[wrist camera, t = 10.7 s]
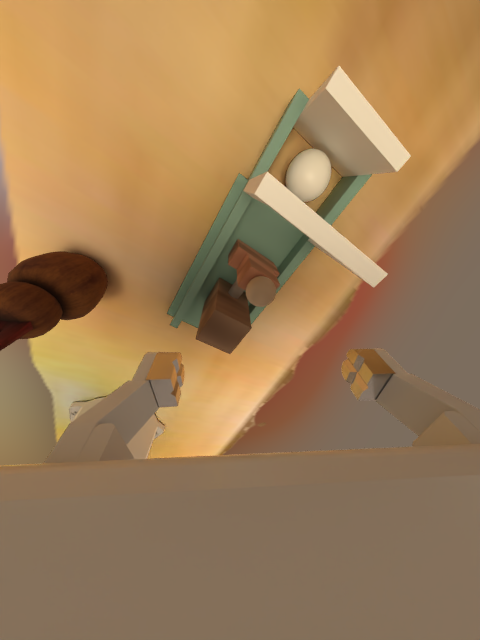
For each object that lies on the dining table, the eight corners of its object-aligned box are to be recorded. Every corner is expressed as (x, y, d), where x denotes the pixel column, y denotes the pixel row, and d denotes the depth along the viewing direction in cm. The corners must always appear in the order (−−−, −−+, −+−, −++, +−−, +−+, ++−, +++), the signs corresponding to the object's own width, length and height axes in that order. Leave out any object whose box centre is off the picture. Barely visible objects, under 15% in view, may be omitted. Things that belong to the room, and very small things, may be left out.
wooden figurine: (122, 268, 25) (11, 351, 12) (109, 302, 27) (6, 399, 15) (61, 235, 22) (-156, 295, 10) (53, 275, 25) (-128, 365, 12)
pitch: (234, 340, 32) (236, 425, 20) (168, 309, 28) (126, 391, 17) (363, 179, 20) (525, 170, 9) (280, 93, 17) (379, -96, 6)
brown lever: (233, 316, 28) (234, 373, 19) (201, 300, 26) (186, 353, 18) (274, 260, 23) (298, 302, 15) (238, 236, 22) (243, 267, 13)
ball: (322, 178, 21) (301, 214, 21) (293, 150, 19) (271, 190, 20) (350, 161, 17) (323, 205, 18) (316, 126, 16) (289, 175, 16)
